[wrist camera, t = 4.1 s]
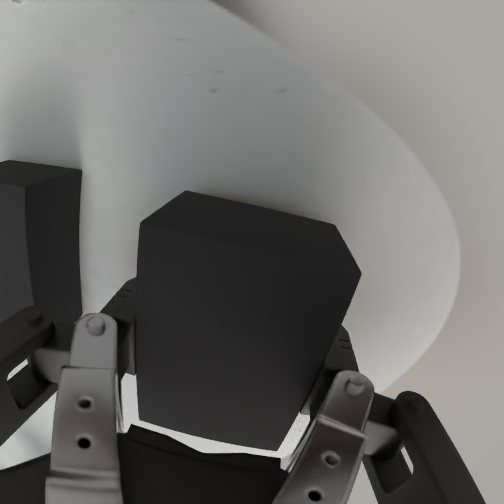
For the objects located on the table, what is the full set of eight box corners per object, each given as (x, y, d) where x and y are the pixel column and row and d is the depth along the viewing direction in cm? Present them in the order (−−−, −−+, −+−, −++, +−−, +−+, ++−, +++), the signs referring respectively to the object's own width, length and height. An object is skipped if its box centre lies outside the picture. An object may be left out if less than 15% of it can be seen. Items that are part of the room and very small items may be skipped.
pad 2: (184, 189, 11) (139, 221, 7) (335, 224, 11) (363, 273, 7) (166, 357, 14) (138, 420, 10) (279, 383, 14) (277, 452, 10)
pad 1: (9, 160, 12) (-45, 174, 9) (82, 169, 12) (25, 186, 9) (16, 288, 15) (-23, 320, 12) (82, 314, 15) (45, 357, 12)
